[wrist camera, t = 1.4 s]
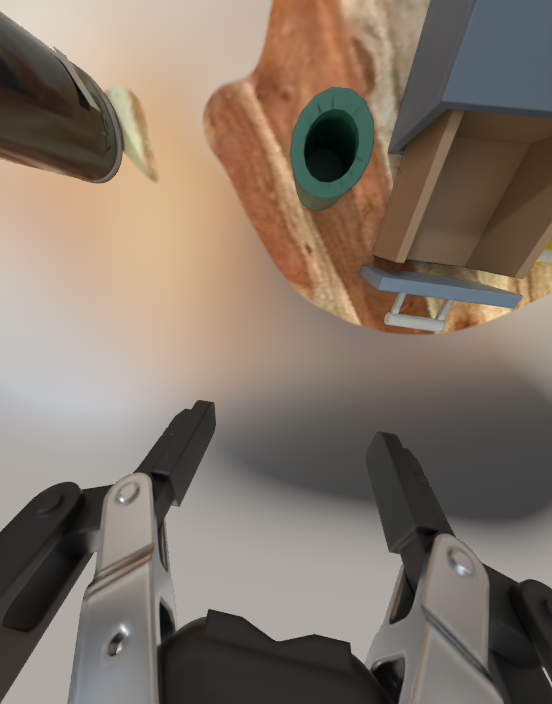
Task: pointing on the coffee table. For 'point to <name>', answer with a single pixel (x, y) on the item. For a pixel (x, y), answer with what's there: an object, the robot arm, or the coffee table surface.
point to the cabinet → (478, 63)
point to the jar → (331, 146)
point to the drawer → (466, 209)
